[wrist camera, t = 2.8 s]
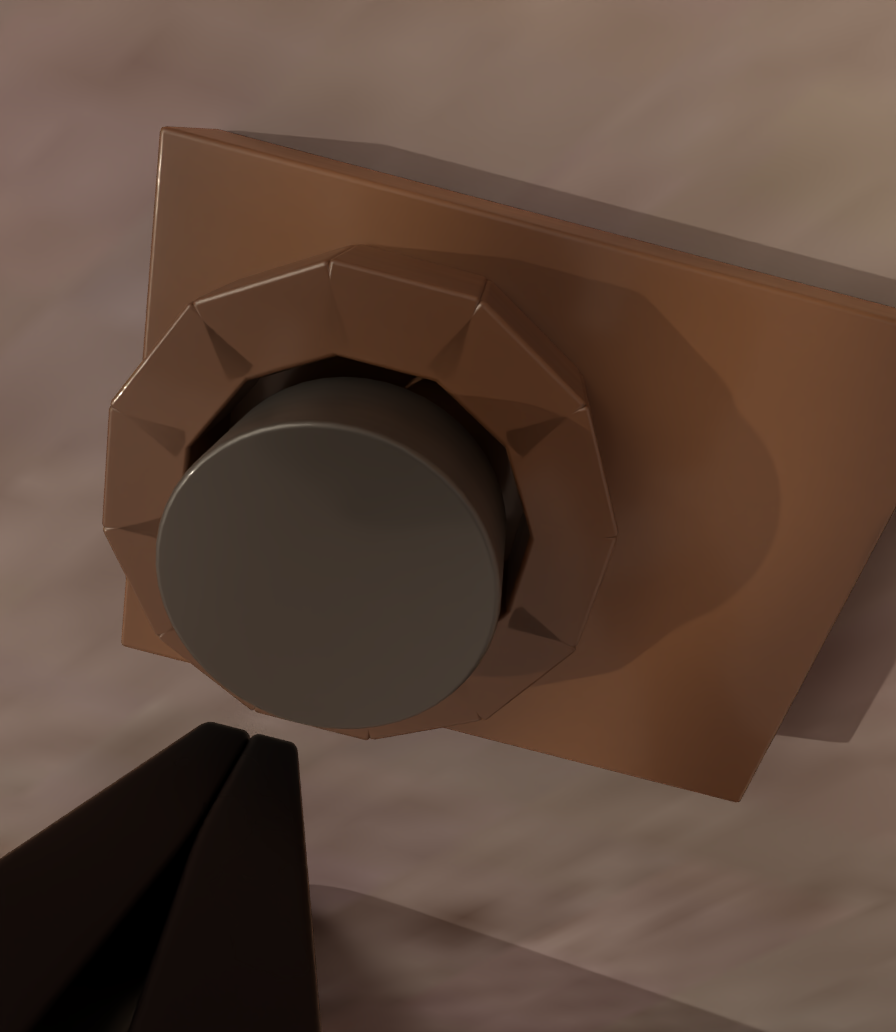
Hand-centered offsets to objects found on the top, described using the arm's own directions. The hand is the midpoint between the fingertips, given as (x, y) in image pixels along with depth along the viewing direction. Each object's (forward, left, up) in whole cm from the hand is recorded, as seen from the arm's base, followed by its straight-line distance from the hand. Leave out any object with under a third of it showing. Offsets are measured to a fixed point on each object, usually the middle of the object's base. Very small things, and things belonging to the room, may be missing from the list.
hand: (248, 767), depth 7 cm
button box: (-2, 0, -9) cm, 9 cm away
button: (0, 0, -5) cm, 5 cm away
